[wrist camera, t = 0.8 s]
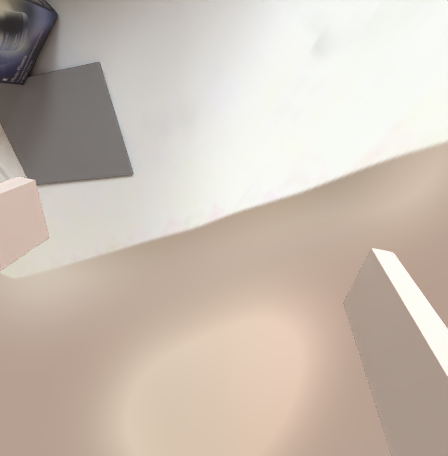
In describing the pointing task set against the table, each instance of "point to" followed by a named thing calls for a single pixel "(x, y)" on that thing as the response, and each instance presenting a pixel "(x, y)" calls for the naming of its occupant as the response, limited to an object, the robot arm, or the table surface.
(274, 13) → the table surface
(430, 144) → the table surface
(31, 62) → the small box
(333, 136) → the table surface
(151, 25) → the table surface
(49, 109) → the mat
